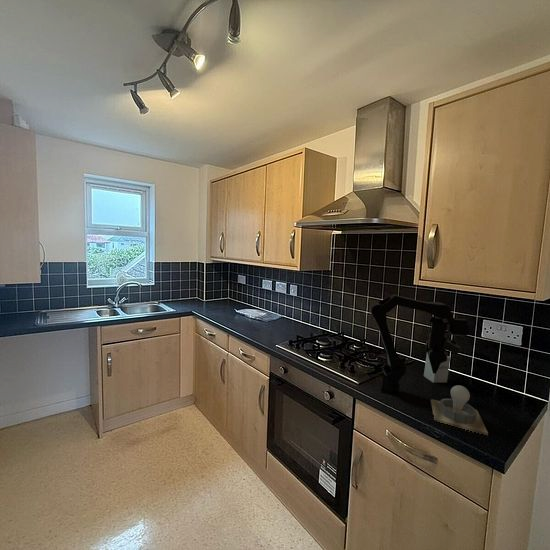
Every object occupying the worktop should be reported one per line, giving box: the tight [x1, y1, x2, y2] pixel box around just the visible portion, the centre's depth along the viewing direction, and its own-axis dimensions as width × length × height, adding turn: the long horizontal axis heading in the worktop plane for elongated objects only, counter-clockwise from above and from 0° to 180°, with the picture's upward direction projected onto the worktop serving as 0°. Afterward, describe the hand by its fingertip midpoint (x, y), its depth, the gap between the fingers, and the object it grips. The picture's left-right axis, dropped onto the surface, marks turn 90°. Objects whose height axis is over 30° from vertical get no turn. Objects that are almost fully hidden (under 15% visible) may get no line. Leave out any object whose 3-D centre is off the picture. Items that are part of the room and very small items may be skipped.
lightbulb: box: [449, 384, 471, 413], centre depth 111 cm, size 6×6×11 cm
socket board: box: [430, 398, 489, 437], centre depth 111 cm, size 16×16×4 cm
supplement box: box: [423, 352, 451, 384], centre depth 144 cm, size 7×7×13 cm
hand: (433, 369), depth 125 cm, fingers open, 9 cm apart
